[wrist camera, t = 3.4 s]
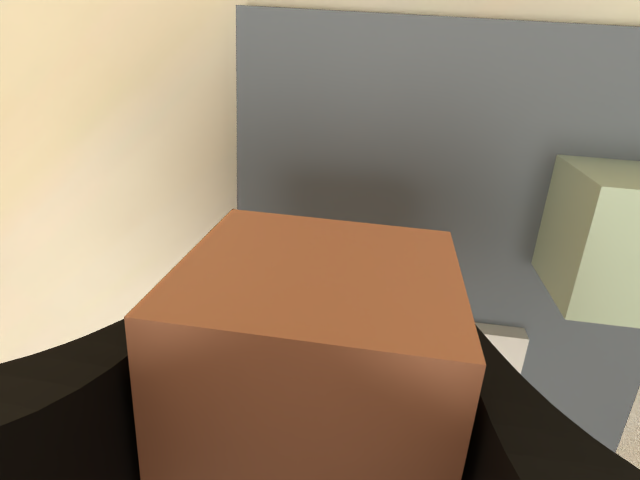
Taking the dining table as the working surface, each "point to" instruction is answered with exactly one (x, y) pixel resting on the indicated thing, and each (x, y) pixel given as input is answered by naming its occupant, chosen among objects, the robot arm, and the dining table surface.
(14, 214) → the dining table surface
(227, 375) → the block
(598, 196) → the block
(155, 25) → the dining table surface
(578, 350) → the board
